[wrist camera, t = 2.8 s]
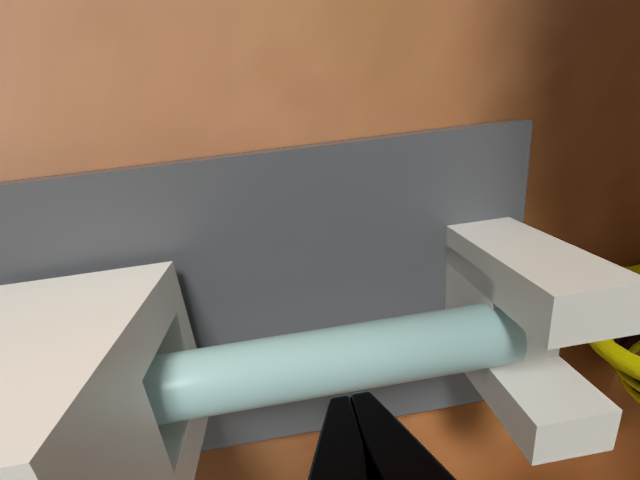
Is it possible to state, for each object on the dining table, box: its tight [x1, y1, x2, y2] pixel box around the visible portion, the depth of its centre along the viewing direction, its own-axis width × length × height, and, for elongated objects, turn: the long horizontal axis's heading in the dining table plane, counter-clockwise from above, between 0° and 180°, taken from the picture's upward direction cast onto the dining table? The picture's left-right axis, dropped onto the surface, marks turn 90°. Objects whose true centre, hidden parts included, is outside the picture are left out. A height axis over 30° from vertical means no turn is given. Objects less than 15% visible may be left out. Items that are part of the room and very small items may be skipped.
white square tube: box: [0, 261, 208, 480], centre depth 8 cm, size 5×5×6 cm
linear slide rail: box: [0, 120, 640, 466], centre depth 9 cm, size 26×10×6 cm, turn 96°
